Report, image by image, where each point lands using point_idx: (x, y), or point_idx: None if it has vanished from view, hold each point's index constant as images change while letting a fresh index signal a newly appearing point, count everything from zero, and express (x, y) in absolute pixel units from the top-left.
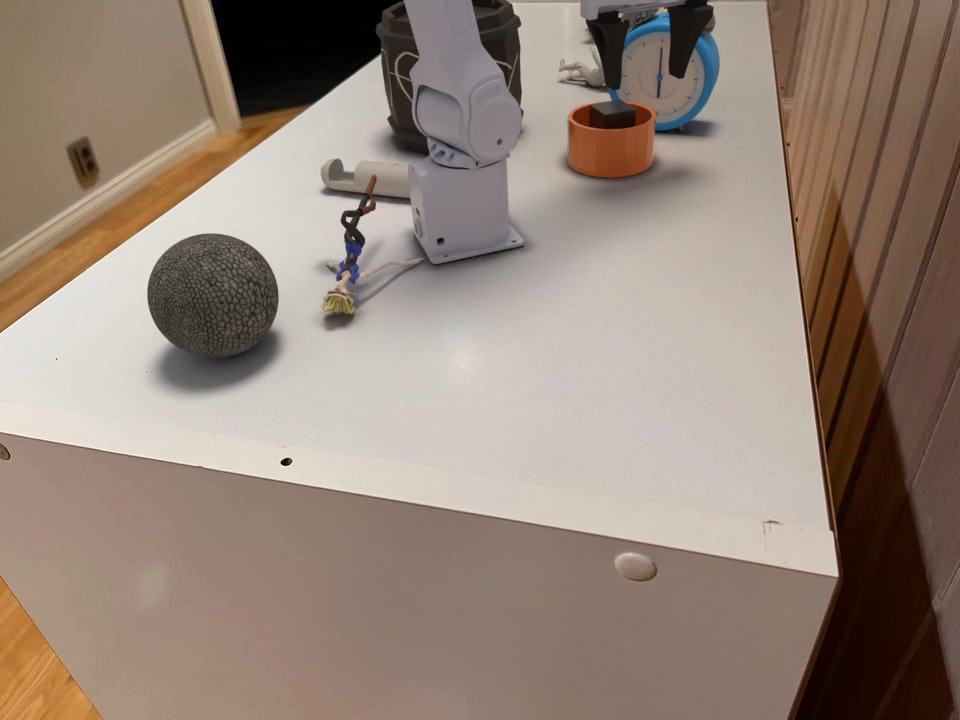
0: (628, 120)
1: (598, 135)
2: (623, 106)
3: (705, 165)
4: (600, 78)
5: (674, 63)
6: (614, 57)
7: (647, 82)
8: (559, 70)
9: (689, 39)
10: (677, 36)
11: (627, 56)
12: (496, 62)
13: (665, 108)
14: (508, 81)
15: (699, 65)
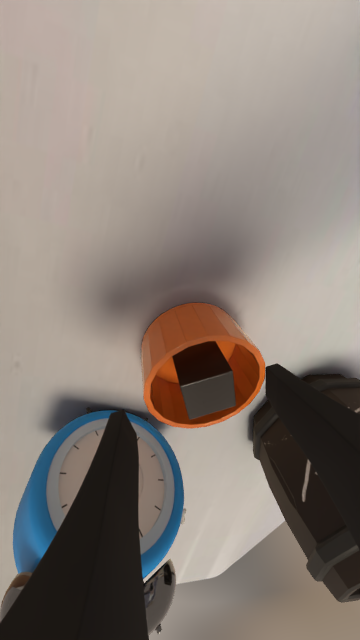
0: (189, 371)
1: (241, 335)
2: (195, 396)
3: (74, 320)
4: None
5: (130, 451)
6: (352, 413)
7: None
8: (185, 509)
9: (98, 517)
10: (126, 534)
11: (163, 509)
12: None
13: None
14: None
15: (53, 496)
